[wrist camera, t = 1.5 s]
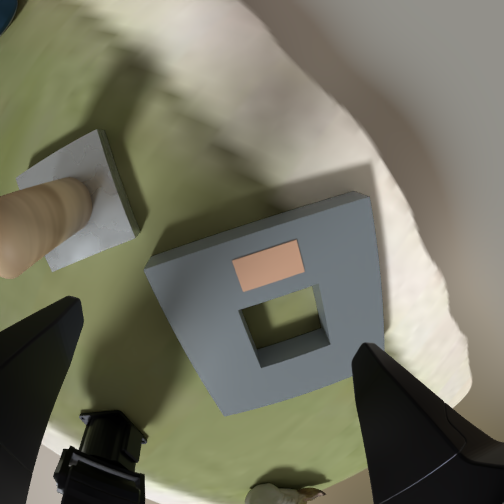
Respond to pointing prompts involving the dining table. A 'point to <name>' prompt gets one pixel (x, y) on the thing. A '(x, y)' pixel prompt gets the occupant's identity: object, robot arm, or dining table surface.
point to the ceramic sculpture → (281, 495)
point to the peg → (40, 222)
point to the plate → (101, 191)
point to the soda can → (7, 13)
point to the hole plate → (269, 287)
